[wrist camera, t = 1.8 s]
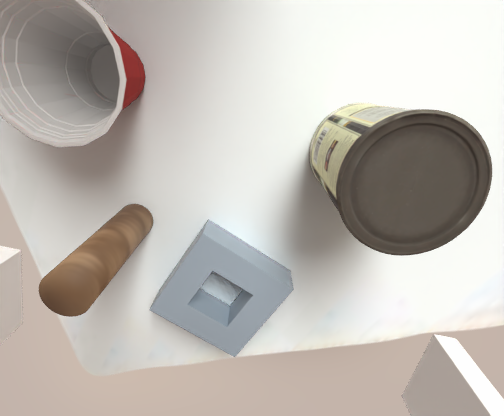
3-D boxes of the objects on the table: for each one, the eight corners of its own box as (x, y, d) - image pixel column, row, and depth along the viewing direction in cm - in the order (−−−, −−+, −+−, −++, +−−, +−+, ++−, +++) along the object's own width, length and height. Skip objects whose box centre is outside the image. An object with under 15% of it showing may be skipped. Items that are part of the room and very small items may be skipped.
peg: (113, 223, 39) (30, 299, 25) (128, 197, 38) (51, 262, 24) (143, 241, 40) (78, 324, 26) (159, 216, 39) (100, 289, 25)
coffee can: (407, 188, 37) (489, 244, 23) (315, 203, 38) (344, 266, 24) (404, 92, 33) (499, 94, 20) (303, 111, 34) (330, 126, 21)
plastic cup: (49, 97, 34) (-54, 101, 23) (84, -8, 31) (-17, -64, 20) (145, 148, 36) (92, 176, 25) (187, 53, 33) (149, 35, 21)
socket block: (159, 290, 42) (149, 309, 38) (208, 219, 39) (202, 233, 35) (237, 334, 44) (234, 357, 40) (290, 270, 41) (293, 289, 37)
